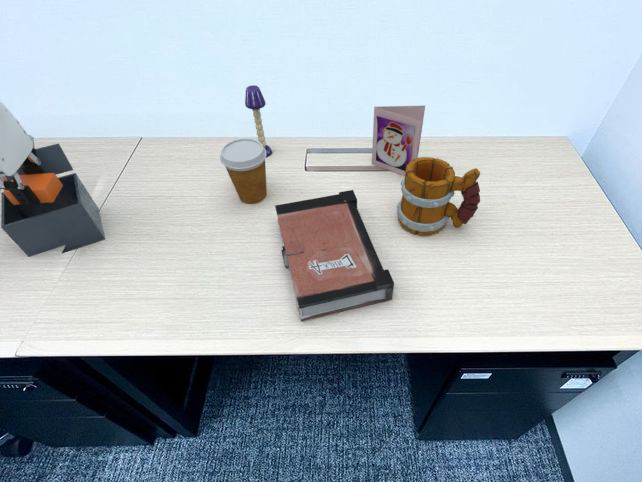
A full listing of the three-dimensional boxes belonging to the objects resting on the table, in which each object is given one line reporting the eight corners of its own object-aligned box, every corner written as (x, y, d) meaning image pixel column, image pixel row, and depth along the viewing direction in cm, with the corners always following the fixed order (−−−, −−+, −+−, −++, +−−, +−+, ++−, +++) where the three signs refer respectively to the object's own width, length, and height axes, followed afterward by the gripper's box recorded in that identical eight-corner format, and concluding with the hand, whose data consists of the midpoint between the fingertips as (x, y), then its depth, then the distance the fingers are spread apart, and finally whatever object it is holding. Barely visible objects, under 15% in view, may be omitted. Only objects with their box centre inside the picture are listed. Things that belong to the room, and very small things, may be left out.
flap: (-20, 162, 73) (-19, 162, 73) (-2, 189, 76) (-1, 189, 76) (58, 143, 77) (58, 143, 77) (73, 170, 80) (73, 169, 80)
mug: (402, 198, 91) (409, 139, 79) (474, 215, 87) (493, 156, 76) (388, 229, 84) (394, 170, 73) (466, 248, 81) (485, 190, 69)
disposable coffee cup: (266, 178, 95) (257, 132, 86) (279, 201, 90) (271, 156, 81) (227, 188, 93) (213, 143, 83) (237, 213, 87) (224, 168, 78)
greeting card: (369, 165, 99) (372, 108, 87) (384, 151, 103) (388, 94, 91) (411, 180, 95) (419, 123, 84) (424, 165, 99) (433, 108, 88)
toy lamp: (254, 148, 103) (241, 84, 91) (272, 145, 104) (261, 82, 91) (256, 158, 100) (242, 94, 88) (274, 156, 101) (263, 91, 88)
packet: (13, 205, 73) (2, 192, 71) (25, 187, 76) (14, 175, 74) (53, 202, 74) (43, 189, 71) (63, 185, 77) (54, 172, 74)
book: (274, 222, 85) (271, 204, 82) (352, 207, 89) (352, 189, 85) (297, 322, 69) (294, 305, 65) (392, 299, 72) (394, 283, 69)
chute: (33, 262, 78) (1, 227, 70) (31, 228, 84) (1, 192, 76) (105, 239, 82) (81, 203, 74) (98, 208, 88) (75, 172, 81)
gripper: (-32, 76, 66) (35, 168, 80) (-96, 132, 55) (-5, 227, 69) (16, 74, 67) (74, 166, 80) (-38, 129, 56) (40, 223, 70)
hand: (37, 193), depth 75 cm, fingers closed on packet, 5 cm apart
